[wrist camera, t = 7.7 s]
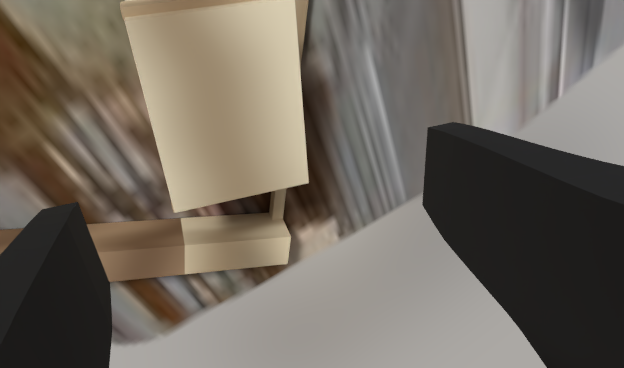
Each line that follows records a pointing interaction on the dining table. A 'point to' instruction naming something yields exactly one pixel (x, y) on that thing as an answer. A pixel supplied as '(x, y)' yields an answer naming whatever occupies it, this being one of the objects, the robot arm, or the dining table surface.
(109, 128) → the dining table surface
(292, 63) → the beige cube
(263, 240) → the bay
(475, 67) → the dining table surface
